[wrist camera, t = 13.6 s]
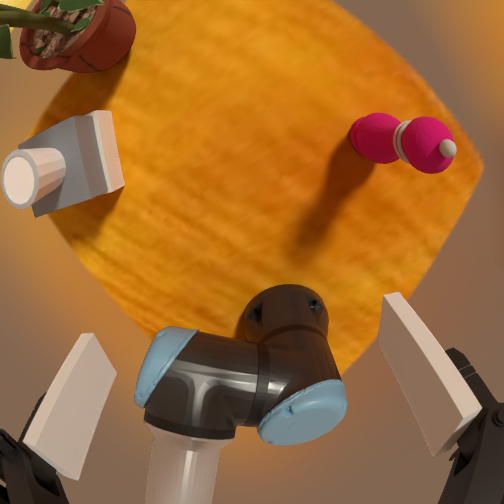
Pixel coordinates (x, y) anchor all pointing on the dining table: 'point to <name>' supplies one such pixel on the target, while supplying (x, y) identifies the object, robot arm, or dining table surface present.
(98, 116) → the tower base
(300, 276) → the dining table surface
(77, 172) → the tower top
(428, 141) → the pepper mill
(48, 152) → the white cup
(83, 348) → the robot arm
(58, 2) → the potted plant
